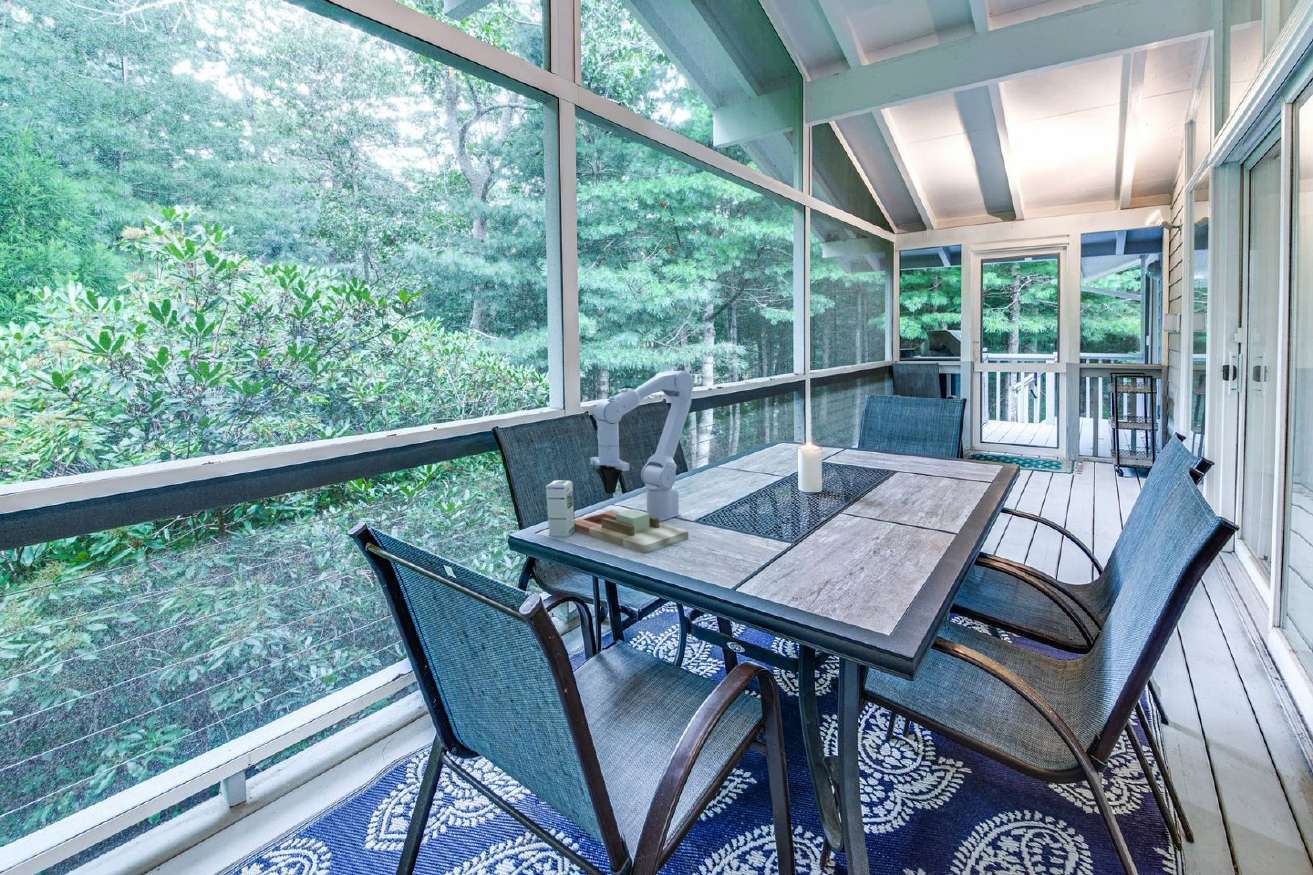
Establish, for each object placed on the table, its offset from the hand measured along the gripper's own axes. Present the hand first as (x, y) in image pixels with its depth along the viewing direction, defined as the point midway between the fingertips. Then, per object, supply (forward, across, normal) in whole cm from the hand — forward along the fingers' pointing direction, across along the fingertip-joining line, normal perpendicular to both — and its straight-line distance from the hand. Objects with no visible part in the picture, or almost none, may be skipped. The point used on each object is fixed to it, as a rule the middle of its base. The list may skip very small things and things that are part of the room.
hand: (610, 492), depth 175 cm
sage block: (+8, +9, 0) cm, 12 cm away
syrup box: (+11, -7, -12) cm, 17 cm away
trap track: (+10, +6, 0) cm, 12 cm away
